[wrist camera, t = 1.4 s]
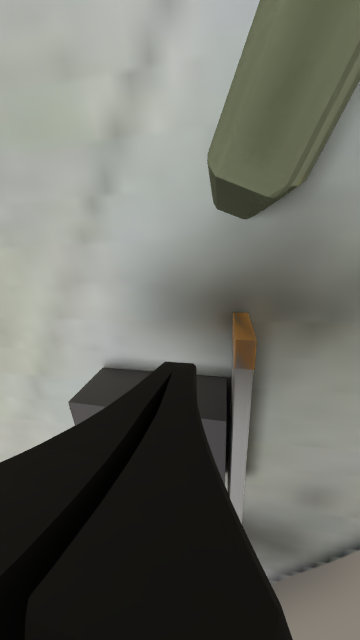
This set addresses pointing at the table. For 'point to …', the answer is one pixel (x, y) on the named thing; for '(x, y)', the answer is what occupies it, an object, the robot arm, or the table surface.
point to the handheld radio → (283, 100)
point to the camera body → (120, 381)
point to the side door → (240, 406)
